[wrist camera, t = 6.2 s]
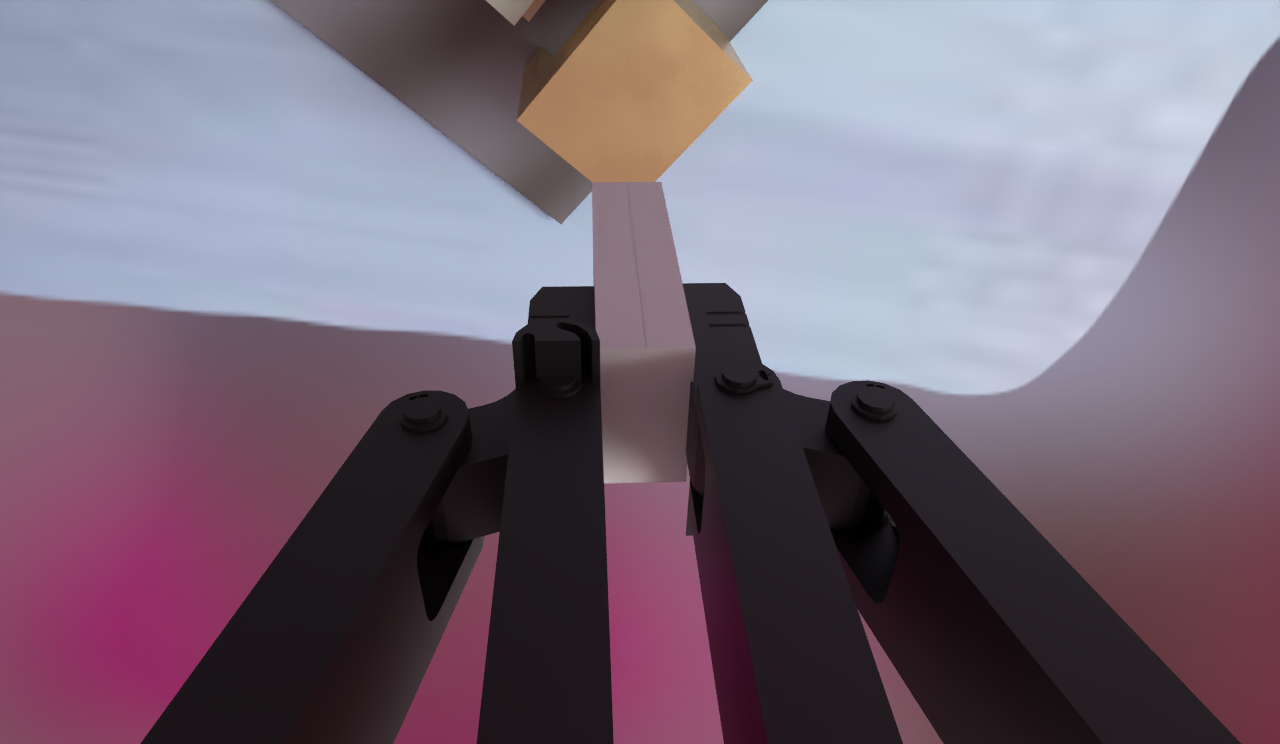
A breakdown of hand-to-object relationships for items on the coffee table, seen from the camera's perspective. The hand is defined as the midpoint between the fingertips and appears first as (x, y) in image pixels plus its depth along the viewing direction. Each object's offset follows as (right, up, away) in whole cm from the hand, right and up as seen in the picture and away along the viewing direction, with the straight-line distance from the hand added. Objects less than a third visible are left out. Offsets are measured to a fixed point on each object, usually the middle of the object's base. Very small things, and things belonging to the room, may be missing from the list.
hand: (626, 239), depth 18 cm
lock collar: (0, +10, +14) cm, 18 cm away
